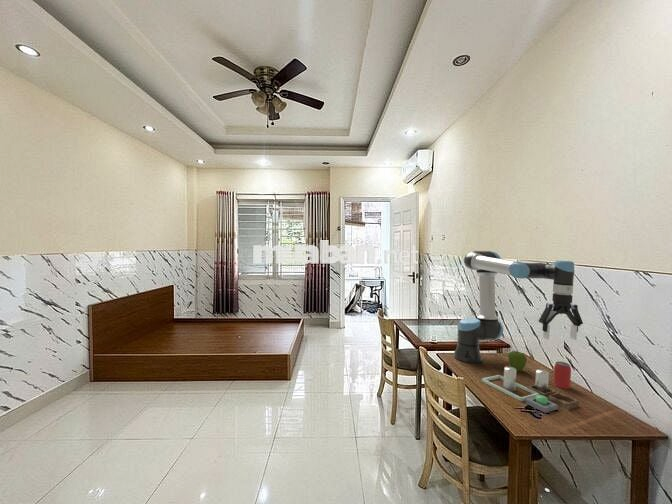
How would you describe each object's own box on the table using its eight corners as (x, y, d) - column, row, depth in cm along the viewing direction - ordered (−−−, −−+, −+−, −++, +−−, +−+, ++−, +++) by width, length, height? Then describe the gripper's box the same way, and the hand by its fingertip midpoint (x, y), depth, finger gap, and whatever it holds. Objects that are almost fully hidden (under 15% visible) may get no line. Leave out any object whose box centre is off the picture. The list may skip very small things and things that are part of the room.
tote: (481, 383, 152) (481, 378, 152) (498, 379, 157) (499, 374, 157) (521, 404, 133) (521, 398, 133) (539, 399, 138) (540, 393, 138)
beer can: (572, 392, 146) (574, 366, 146) (557, 390, 148) (558, 365, 147) (565, 385, 153) (566, 361, 152) (550, 384, 154) (552, 360, 154)
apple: (529, 374, 165) (530, 353, 165) (517, 375, 163) (518, 354, 162) (515, 368, 173) (517, 347, 173) (503, 369, 171) (504, 348, 171)
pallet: (524, 393, 143) (524, 386, 143) (538, 389, 147) (538, 382, 147) (566, 413, 127) (567, 405, 127) (580, 408, 131) (581, 401, 131)
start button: (533, 402, 130) (534, 395, 130) (539, 401, 132) (540, 394, 132) (543, 407, 127) (543, 400, 127) (549, 405, 128) (549, 398, 128)
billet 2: (532, 391, 143) (533, 370, 142) (539, 389, 145) (540, 368, 144) (543, 396, 138) (544, 374, 138) (550, 394, 140) (551, 372, 140)
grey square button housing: (525, 405, 131) (526, 399, 131) (537, 402, 135) (538, 395, 135) (545, 415, 124) (545, 408, 124) (557, 411, 128) (557, 404, 127)
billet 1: (500, 388, 146) (501, 367, 146) (507, 386, 148) (508, 365, 148) (510, 393, 142) (511, 371, 141) (517, 391, 144) (518, 369, 143)
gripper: (543, 294, 140) (540, 340, 141) (594, 295, 142) (591, 341, 143) (531, 291, 148) (528, 335, 148) (580, 293, 150) (577, 336, 150)
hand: (559, 338), depth 146 cm, fingers open, 13 cm apart
